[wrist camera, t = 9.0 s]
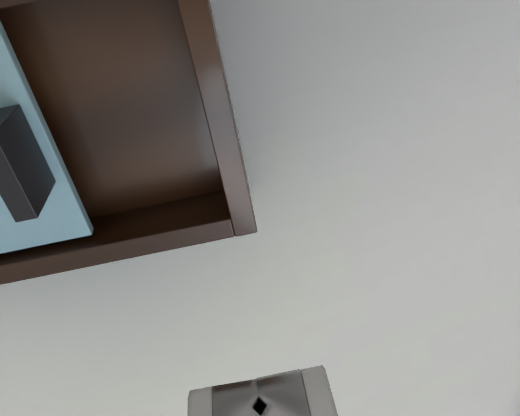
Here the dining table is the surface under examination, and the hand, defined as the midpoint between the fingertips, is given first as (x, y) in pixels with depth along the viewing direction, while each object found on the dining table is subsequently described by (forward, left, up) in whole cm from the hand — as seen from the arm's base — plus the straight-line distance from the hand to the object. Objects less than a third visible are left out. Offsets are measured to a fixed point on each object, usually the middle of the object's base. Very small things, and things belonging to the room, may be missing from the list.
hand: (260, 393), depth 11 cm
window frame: (-1, -10, -18) cm, 20 cm away
